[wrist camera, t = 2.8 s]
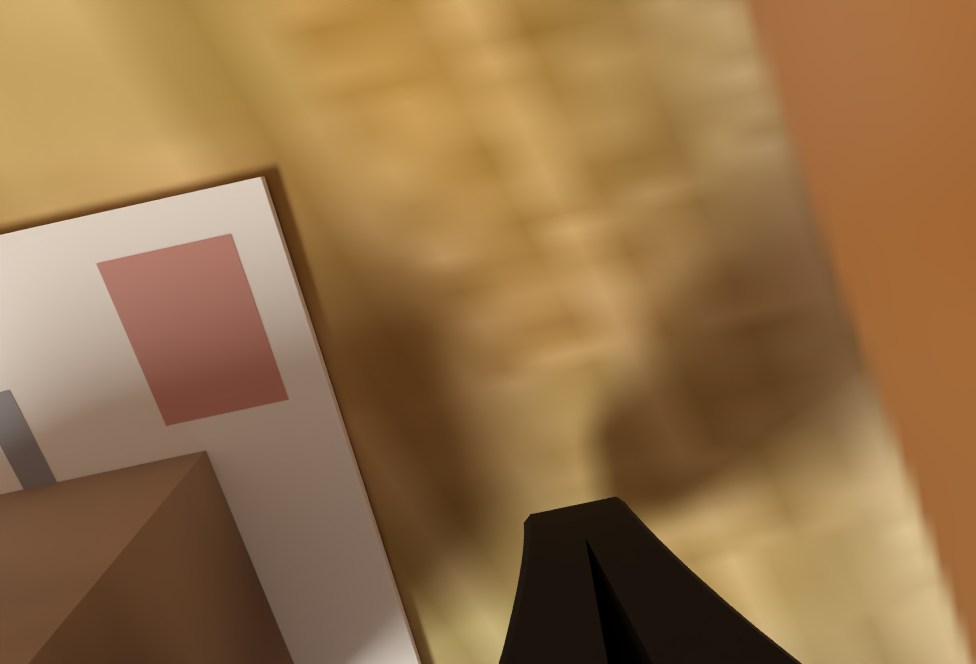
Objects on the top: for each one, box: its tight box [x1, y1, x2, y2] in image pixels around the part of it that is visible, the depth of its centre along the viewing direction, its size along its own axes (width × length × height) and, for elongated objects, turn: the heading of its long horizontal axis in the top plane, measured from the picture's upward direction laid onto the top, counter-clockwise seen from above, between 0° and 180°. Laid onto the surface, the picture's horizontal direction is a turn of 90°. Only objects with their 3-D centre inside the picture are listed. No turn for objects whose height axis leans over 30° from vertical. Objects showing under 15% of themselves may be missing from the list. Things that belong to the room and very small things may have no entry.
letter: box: [0, 176, 421, 664], centre depth 9 cm, size 12×9×1 cm
